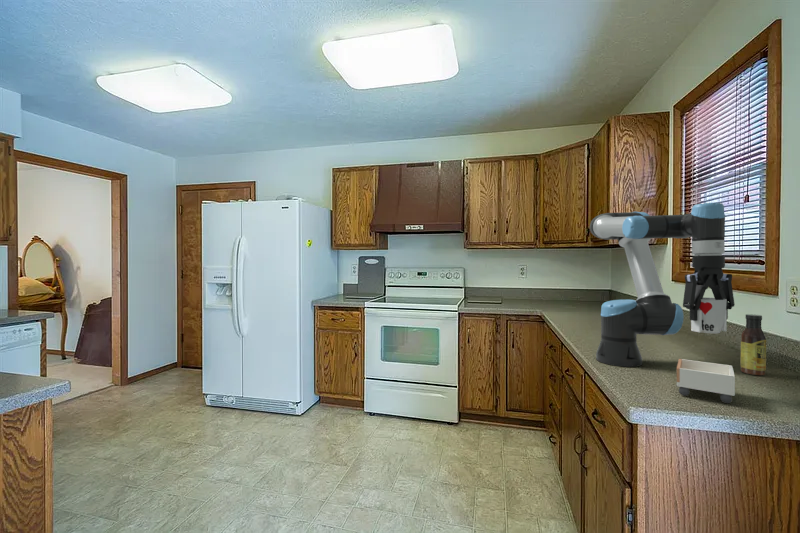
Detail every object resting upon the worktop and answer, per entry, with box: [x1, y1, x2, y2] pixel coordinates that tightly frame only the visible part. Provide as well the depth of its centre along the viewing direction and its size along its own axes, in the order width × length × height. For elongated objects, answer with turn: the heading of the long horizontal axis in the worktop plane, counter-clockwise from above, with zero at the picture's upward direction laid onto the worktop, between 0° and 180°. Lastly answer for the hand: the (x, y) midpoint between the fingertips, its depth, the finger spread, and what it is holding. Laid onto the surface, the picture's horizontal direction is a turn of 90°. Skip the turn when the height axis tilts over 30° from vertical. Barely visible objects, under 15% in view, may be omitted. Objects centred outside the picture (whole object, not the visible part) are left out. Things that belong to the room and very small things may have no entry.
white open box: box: [676, 358, 736, 404], centre depth 107 cm, size 12×12×8 cm
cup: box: [694, 297, 727, 334], centre depth 110 cm, size 8×8×10 cm
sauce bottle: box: [739, 313, 767, 376], centre depth 124 cm, size 6×6×20 cm
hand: (708, 330), depth 110 cm, fingers closed on cup, 8 cm apart
